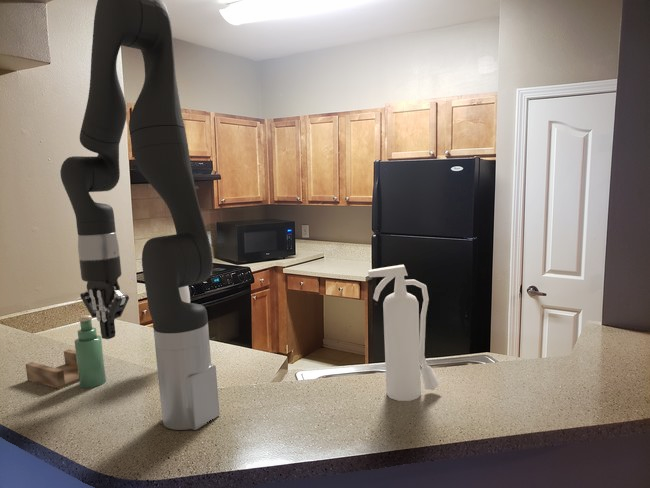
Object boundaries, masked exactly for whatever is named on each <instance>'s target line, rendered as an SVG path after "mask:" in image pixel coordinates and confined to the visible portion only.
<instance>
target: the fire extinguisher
mask: <svg viewBox="0 0 650 488" xmlns="http://www.w3.org/2000/svg"><path fill="white" fill-rule="evenodd" d="M405 276H406V277H408V276H409V275H408V272H407V269H406V266H405V265H404V264H398V265H392V266H386V267H379V268H373V269H368V278H380V277H381V278H383V279H382V280H380V282H379V283H378V285H376V287H375V289H374V293H373V297H372V299H373V300H375V301H376V302H378V301H379V297H380V294H381V292H382V291H383V289H384V288H385V287H386V285H387V284H389V283H390V282H391V281H392V280H393V279H395V280H394V286H393V287H394V289H393V292H392V293H390V294H388V295H387V296H385V298H384V300H383V303H382V307H383V308H382V309H383V312H382V313H383V335H384V337H383V338H384V339H383V340H384V359H385V360H384V363H385V388H386V395H387V396H388V398H389V399H392V400H395V401H398V402H411V401H414V400H418V399H419V398H420V396H421V395H422V382H423V386H424V389H425V390H431V391H432V390H435V389H436V388H437V387H439V386H440V385H441V384H442V383H441V382H440V380H439V378H438V376H437V375H436V373H435V371H434V370H433V368H432V366H430V365H428V363H427V359H426V357H425V347H426V344H425V343H426V324H427V323H426V322H427V319H426V318H427V311H428V305H429V301H430V299H429V293H428V287H427V285H426V284H425V283H422V282H420V281H418V280H416V279H405ZM411 285H412V286H416V287H418V288H420V289H421V293H422V298H423V301H422V308H421V312H420V310H419V309H420V308H419V304H420V303H419V301H418V299H417V297H416V296H415V294H414V295H413V294H412V293H410V292H408V291H407V286H411ZM419 312H420V313H419ZM421 377H422V379H421Z"/></svg>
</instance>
